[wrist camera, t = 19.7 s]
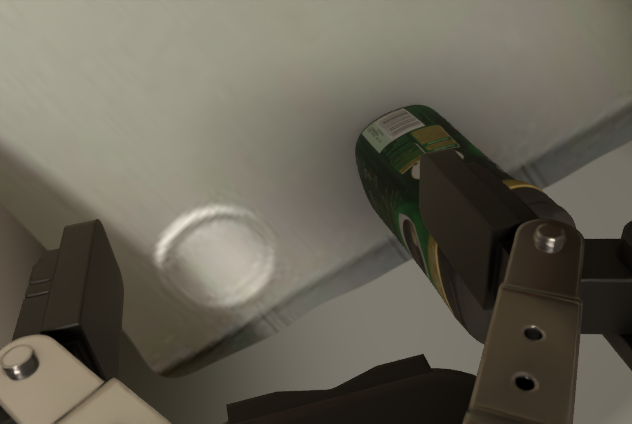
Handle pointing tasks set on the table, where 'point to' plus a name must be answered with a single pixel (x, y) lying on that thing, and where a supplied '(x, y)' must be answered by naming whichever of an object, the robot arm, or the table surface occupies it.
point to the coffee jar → (403, 197)
